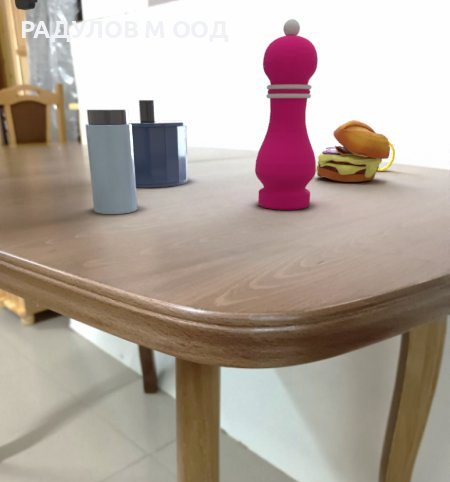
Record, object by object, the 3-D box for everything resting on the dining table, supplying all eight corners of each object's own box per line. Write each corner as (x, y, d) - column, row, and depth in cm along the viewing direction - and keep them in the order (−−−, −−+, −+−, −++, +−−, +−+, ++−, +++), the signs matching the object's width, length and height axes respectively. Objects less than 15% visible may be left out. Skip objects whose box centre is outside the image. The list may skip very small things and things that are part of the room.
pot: (99, 184, 75) (94, 125, 71) (141, 175, 84) (138, 123, 81) (163, 189, 70) (160, 127, 67) (200, 179, 80) (199, 124, 77)
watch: (358, 171, 89) (362, 136, 87) (358, 169, 92) (361, 135, 89) (393, 172, 88) (397, 137, 86) (391, 170, 90) (395, 136, 88)
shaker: (85, 211, 56) (73, 109, 52) (111, 204, 60) (103, 109, 56) (120, 215, 54) (112, 109, 50) (145, 207, 58) (139, 109, 54)
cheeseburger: (329, 172, 87) (347, 114, 82) (384, 192, 82) (407, 132, 77) (301, 177, 79) (320, 114, 74) (360, 200, 74) (384, 134, 70)
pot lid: (89, 130, 71) (86, 100, 70) (137, 126, 82) (136, 100, 80) (161, 132, 67) (160, 99, 65) (203, 128, 77) (202, 100, 75)
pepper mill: (323, 203, 61) (336, 20, 53) (296, 213, 55) (308, 11, 48) (272, 197, 65) (278, 26, 57) (243, 206, 59) (245, 17, 51)
